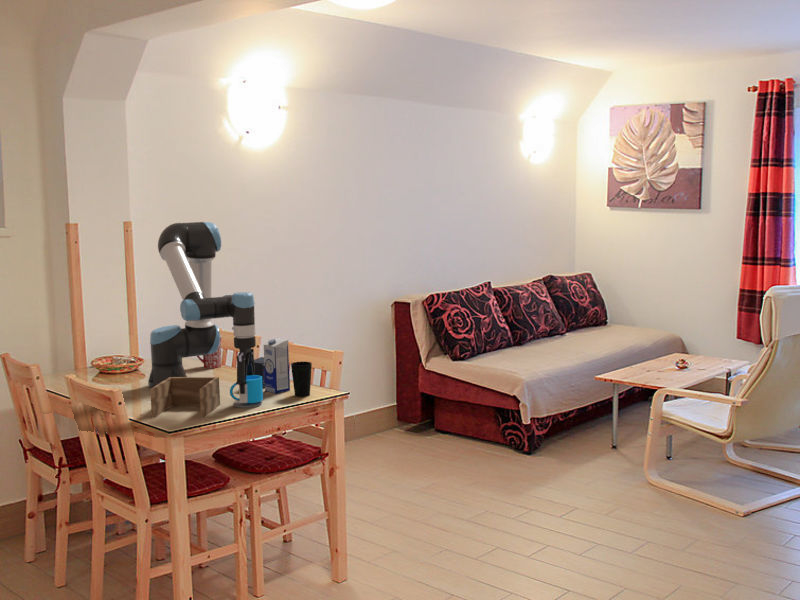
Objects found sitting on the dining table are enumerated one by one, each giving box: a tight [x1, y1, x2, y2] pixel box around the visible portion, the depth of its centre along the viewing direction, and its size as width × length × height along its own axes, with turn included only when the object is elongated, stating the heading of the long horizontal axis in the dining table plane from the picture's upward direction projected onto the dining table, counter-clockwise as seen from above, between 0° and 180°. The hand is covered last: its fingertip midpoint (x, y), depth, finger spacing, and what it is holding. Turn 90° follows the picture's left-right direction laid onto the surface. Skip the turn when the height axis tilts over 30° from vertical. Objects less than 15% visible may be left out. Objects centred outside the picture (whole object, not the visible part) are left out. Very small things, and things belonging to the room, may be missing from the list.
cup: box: [290, 361, 313, 398], centre depth 298 cm, size 8×8×12 cm
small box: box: [254, 356, 265, 389], centre depth 315 cm, size 11×6×10 cm, turn 161°
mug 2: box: [229, 375, 264, 403], centre depth 285 cm, size 12×8×8 cm
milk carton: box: [263, 337, 291, 395], centre depth 305 cm, size 7×7×20 cm
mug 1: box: [196, 335, 223, 369], centre depth 352 cm, size 13×9×14 cm
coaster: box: [232, 400, 263, 409], centre depth 286 cm, size 10×10×1 cm
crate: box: [149, 376, 221, 419], centre depth 278 cm, size 18×18×10 cm
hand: (247, 399), depth 286 cm, fingers open, 8 cm apart
